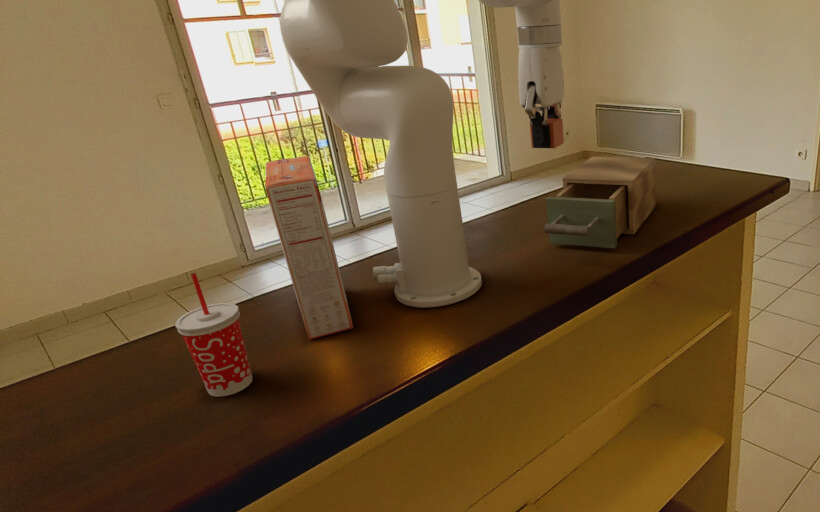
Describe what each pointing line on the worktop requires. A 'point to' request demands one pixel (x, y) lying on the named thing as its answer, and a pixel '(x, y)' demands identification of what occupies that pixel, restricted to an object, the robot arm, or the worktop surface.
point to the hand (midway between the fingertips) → (547, 143)
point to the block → (553, 132)
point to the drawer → (588, 215)
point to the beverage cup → (216, 345)
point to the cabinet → (622, 182)
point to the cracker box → (307, 245)
